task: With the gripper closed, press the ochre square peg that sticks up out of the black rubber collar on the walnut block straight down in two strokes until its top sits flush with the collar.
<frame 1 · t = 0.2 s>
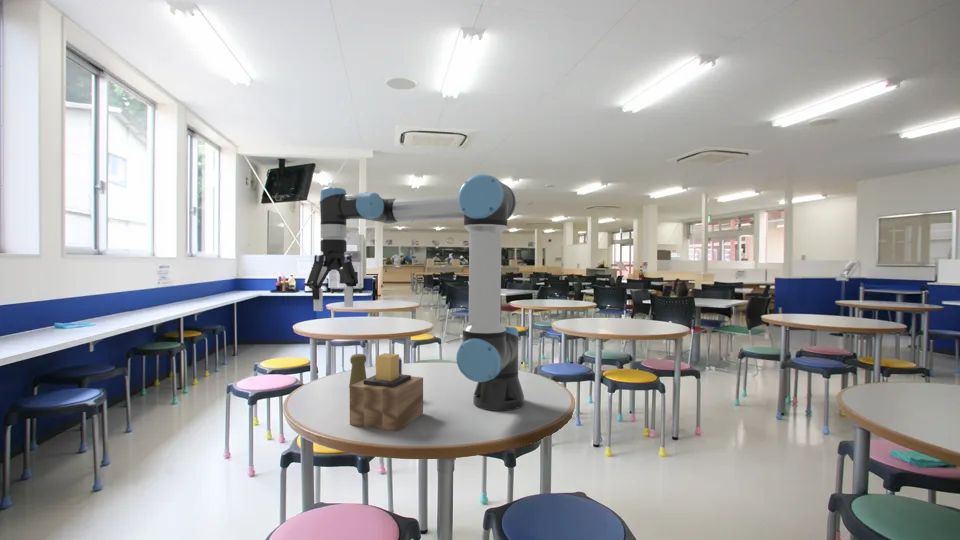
hand: (334, 308, 135), 28 cm above the table, tool pointing down, fingers open, 13 cm apart
cork: (358, 387, 149), on the table
socket block: (387, 418, 118), on the table
peg: (387, 372, 118), point 12 cm above the table, slide at 6.0 cm
energy drink: (393, 397, 138), on the table
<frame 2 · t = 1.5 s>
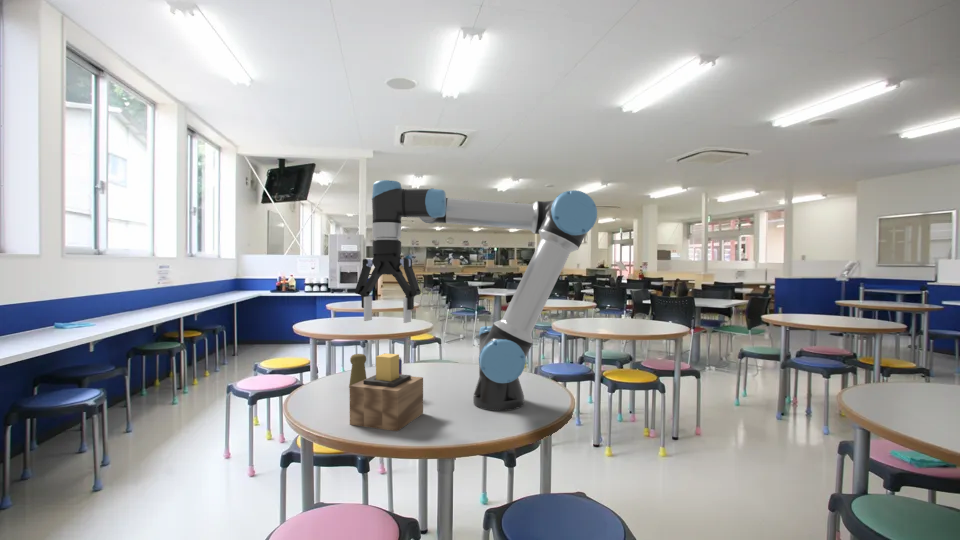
hand: (387, 321, 118), 26 cm above the table, tool pointing down, fingers open, 11 cm apart
nothing on the table moved.
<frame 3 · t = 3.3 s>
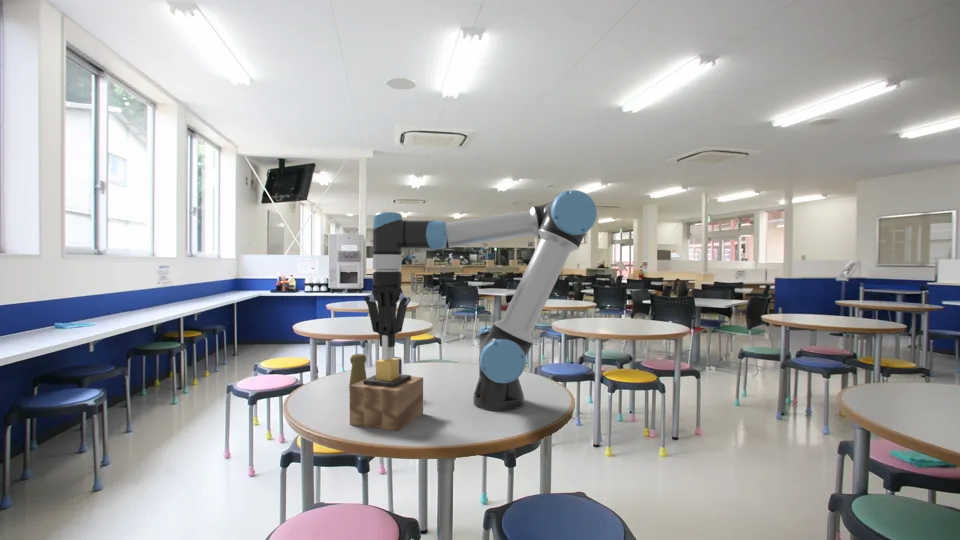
hand: (387, 359, 118), 16 cm above the table, tool pointing down, fingers closed
peg: (387, 376, 118), point 11 cm above the table, slide at 4.8 cm, touching gripper
everything else where it was.
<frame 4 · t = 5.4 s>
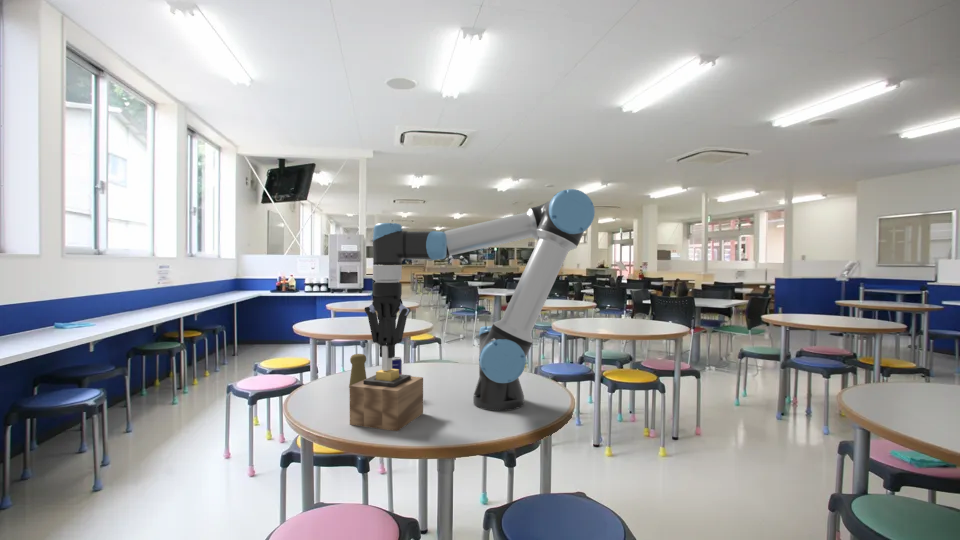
hand: (387, 369, 118), 13 cm above the table, tool pointing down, fingers closed
peg: (387, 387, 118), point 8 cm above the table, slide at 1.9 cm, touching gripper
everything else where it was.
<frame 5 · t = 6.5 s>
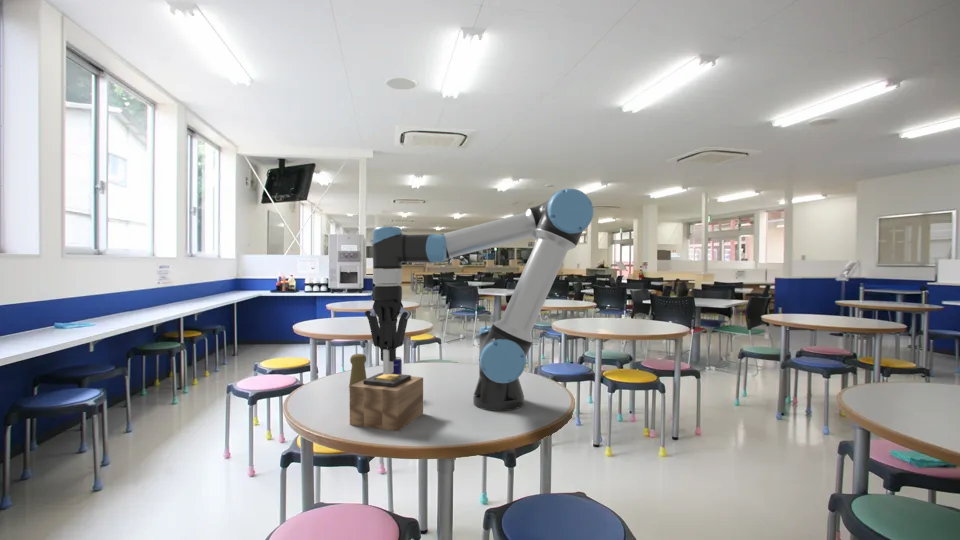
hand: (388, 373, 118), 12 cm above the table, tool pointing down, fingers closed
peg: (387, 393, 118), point 7 cm above the table, slide at 0.4 cm
everything else where it was.
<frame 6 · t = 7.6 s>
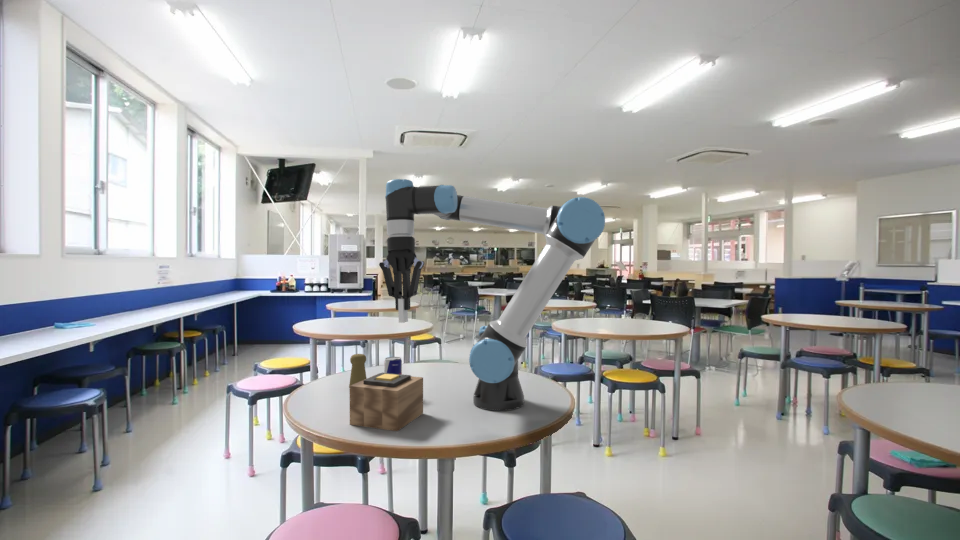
hand: (403, 321, 122), 25 cm above the table, tool pointing down, fingers closed
nothing on the table moved.
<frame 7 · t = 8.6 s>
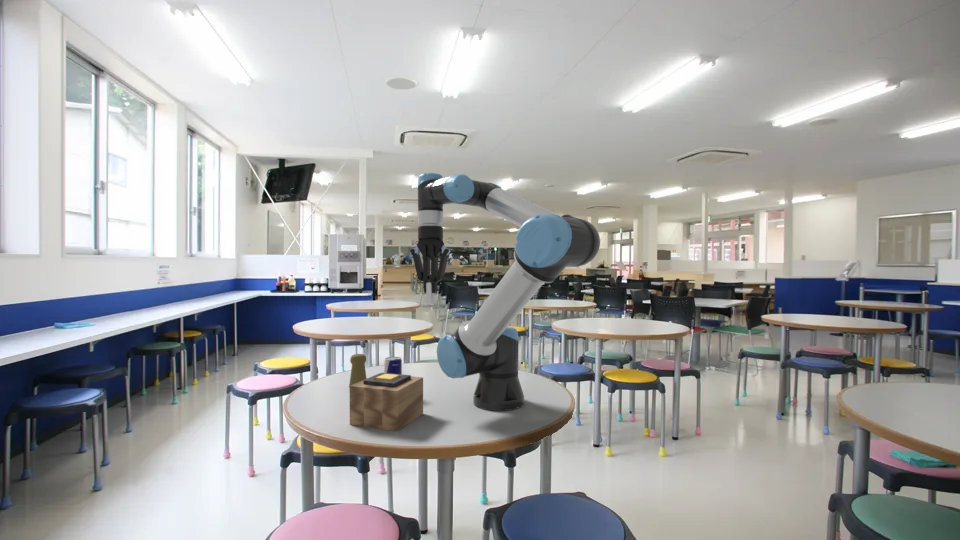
hand: (430, 303, 133), 29 cm above the table, tool pointing down, fingers closed
nothing on the table moved.
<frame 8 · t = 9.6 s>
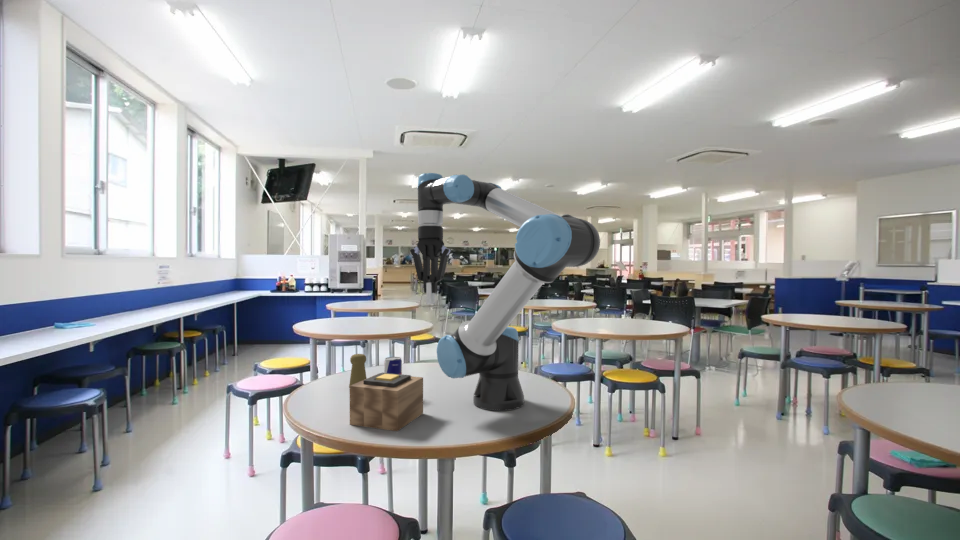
hand: (430, 303, 133), 29 cm above the table, tool pointing down, fingers closed
nothing on the table moved.
at the end: peg slide at 0.4 cm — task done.
